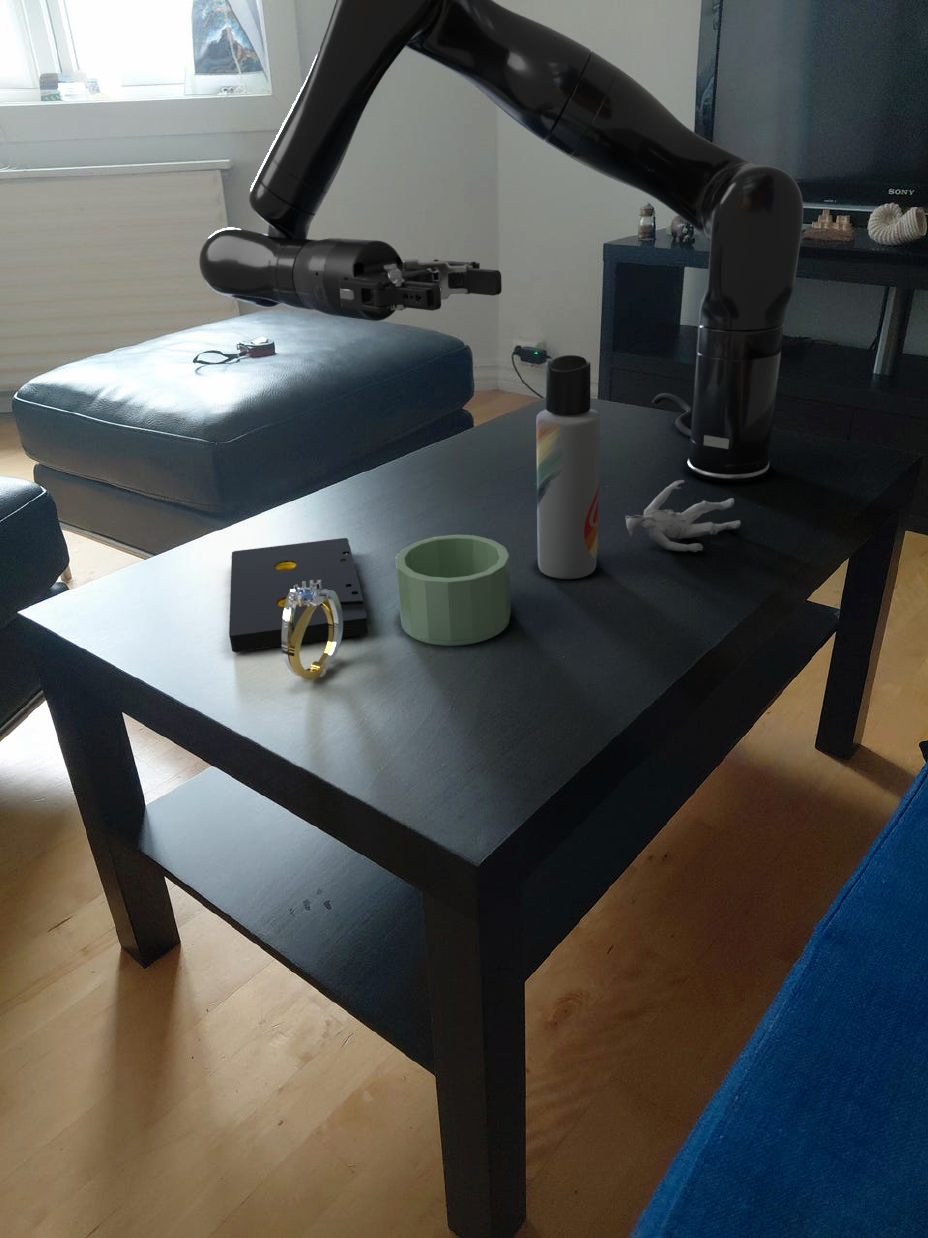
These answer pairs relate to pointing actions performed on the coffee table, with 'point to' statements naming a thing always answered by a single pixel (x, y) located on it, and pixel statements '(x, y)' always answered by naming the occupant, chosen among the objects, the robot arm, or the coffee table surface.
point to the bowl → (454, 589)
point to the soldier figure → (678, 521)
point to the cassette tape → (273, 575)
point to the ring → (293, 642)
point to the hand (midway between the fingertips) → (469, 289)
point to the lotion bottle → (567, 472)
